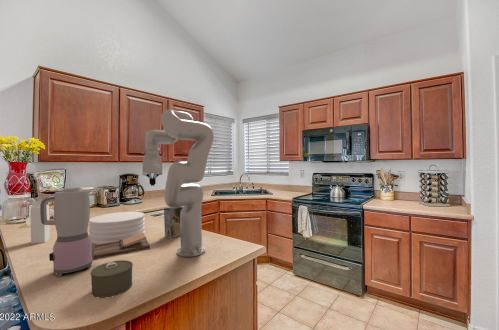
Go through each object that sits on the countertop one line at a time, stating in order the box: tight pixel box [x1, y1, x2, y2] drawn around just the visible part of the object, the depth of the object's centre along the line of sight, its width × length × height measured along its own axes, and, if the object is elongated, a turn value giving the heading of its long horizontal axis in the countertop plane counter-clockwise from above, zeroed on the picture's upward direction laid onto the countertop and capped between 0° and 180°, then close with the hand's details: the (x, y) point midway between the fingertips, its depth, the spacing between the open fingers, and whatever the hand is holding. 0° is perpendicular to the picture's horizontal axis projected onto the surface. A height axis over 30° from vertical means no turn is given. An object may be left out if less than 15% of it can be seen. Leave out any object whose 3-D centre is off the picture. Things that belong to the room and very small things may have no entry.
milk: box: [29, 200, 51, 245], centre depth 128 cm, size 6×6×22 cm
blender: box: [40, 186, 93, 277], centre depth 92 cm, size 16×12×32 cm
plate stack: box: [88, 211, 146, 245], centre depth 136 cm, size 28×28×12 cm
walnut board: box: [92, 238, 151, 260], centre depth 115 cm, size 16×23×3 cm
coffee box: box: [163, 206, 184, 239], centre depth 136 cm, size 9×6×16 cm
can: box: [90, 259, 133, 299], centre depth 78 cm, size 12×12×7 cm
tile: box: [120, 232, 147, 247], centre depth 118 cm, size 10×11×1 cm
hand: (152, 185), depth 135 cm, fingers closed
